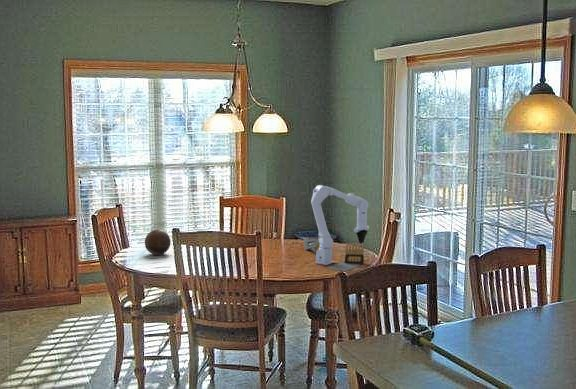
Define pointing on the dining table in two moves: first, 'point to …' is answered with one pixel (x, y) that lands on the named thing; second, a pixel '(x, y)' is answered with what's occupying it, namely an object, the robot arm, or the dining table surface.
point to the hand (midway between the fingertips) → (361, 243)
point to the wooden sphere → (157, 242)
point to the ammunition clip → (355, 257)
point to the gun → (311, 244)
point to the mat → (343, 266)
